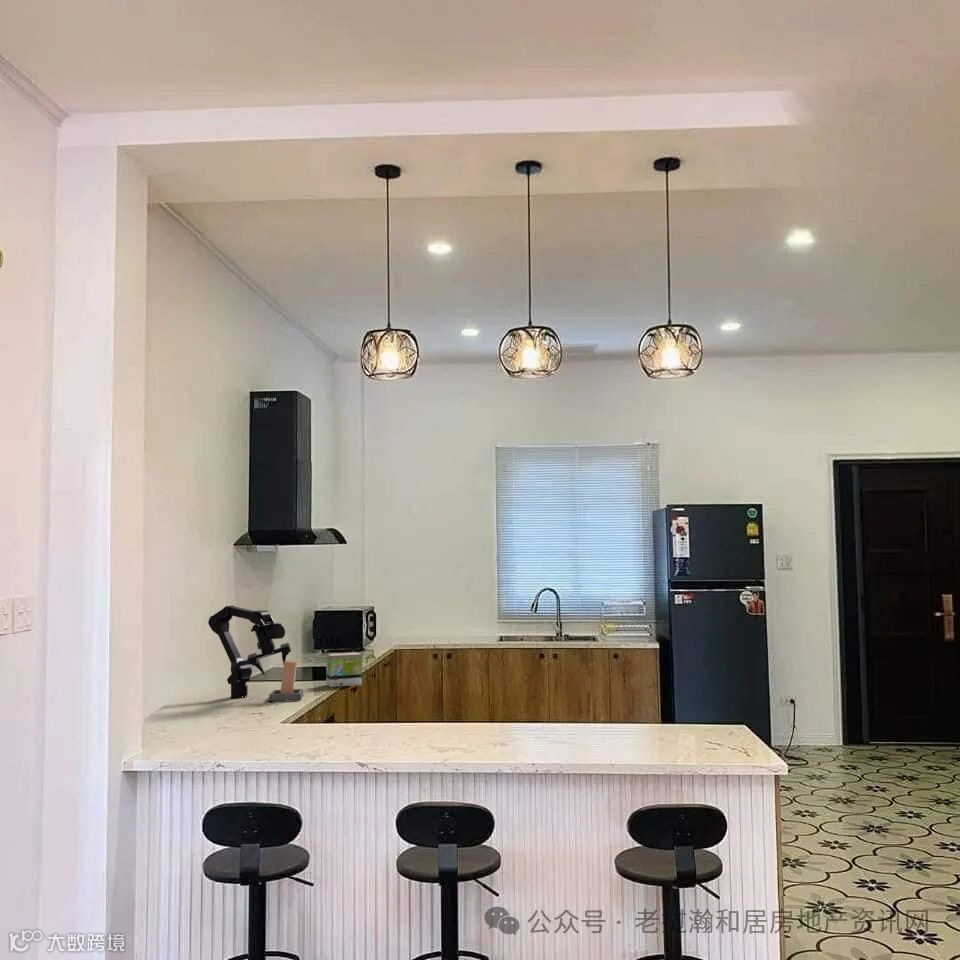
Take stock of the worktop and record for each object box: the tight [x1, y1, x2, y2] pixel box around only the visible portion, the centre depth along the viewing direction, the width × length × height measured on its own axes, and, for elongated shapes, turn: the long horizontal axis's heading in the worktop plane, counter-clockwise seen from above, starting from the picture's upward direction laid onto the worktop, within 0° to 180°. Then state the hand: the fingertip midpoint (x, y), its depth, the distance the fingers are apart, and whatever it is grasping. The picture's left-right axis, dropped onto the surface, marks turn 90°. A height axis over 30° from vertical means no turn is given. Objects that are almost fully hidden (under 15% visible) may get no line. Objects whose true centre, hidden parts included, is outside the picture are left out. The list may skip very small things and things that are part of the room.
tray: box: [268, 688, 304, 702], centre depth 380 cm, size 13×13×3 cm
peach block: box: [280, 659, 298, 694], centre depth 381 cm, size 5×6×15 cm
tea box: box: [325, 651, 363, 688], centre depth 416 cm, size 15×10×15 cm
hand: (274, 671), depth 389 cm, fingers open, 9 cm apart
